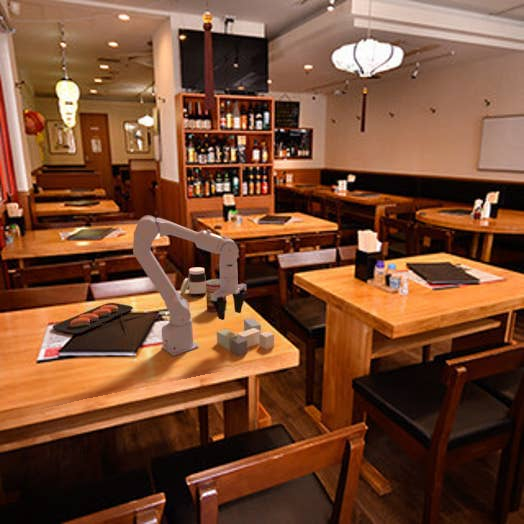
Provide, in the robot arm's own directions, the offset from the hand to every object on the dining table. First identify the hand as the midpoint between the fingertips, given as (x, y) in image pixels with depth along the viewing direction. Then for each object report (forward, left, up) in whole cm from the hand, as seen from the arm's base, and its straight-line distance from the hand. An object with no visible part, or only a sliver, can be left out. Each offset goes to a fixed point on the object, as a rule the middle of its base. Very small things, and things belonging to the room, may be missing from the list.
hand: (229, 315), depth 136 cm
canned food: (+13, +28, -10) cm, 32 cm away
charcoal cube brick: (-2, -8, -10) cm, 13 cm away
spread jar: (+16, +52, -10) cm, 55 cm away
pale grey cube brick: (+7, -10, -10) cm, 16 cm away
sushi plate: (-25, +43, -10) cm, 51 cm away
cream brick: (+4, -5, -10) cm, 12 cm away
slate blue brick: (+10, +1, -10) cm, 14 cm away
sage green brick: (-2, -1, -10) cm, 10 cm away
